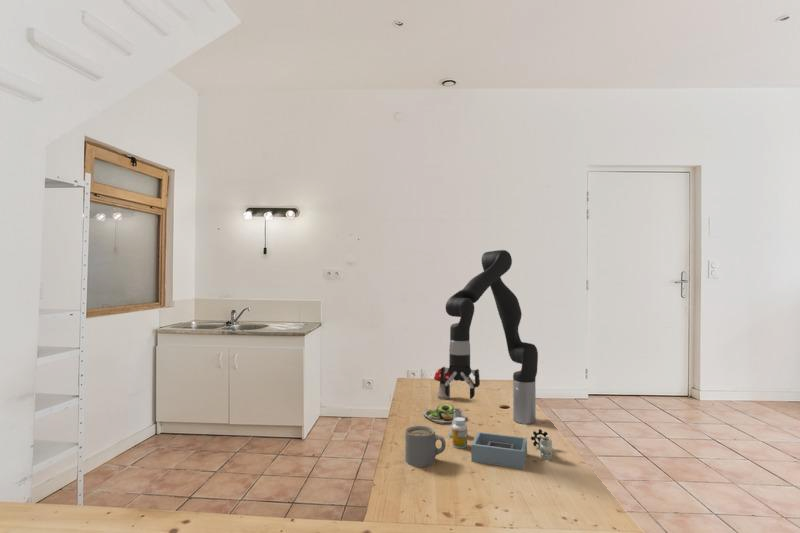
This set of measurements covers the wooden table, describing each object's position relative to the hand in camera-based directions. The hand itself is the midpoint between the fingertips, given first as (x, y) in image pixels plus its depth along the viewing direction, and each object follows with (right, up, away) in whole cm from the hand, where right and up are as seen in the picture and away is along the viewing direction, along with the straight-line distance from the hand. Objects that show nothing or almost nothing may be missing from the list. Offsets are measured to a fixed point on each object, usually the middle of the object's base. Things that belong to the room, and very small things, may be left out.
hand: (459, 397), depth 163 cm
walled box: (+12, -18, -11) cm, 24 cm away
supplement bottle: (0, -18, 0) cm, 18 cm away
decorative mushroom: (0, -19, +62) cm, 65 cm away
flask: (+1, -18, +10) cm, 21 cm away
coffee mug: (-13, -18, -14) cm, 26 cm away
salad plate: (-2, -19, +32) cm, 37 cm away
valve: (+28, -18, -7) cm, 34 cm away
